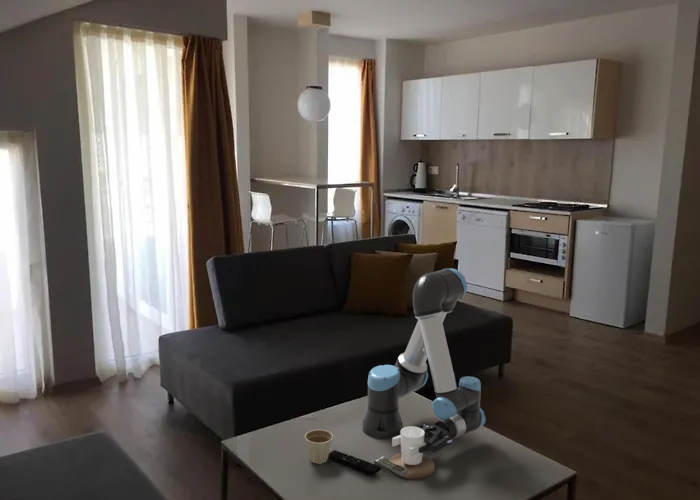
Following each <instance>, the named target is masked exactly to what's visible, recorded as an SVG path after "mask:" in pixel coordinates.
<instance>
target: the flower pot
mask: <svg viewBox="0 0 700 500" xmlns="http://www.w3.org/2000/svg"><path fill="white" fill-rule="evenodd" d="M333 438H334V435H333V433H332V432H331V431H328V430H325V429H314V430H313V429H312V430H310V431H308V432H306V433H305V435H304V439H305V441H306V443H307V450H308V451H307V453H308V459H309V462H310V461H311V462H310V463H312V462H313V463H312V464H314V463H316V464H318V465H323V464H325V463H327V462H328V460H329V455H330V447H331V444H332V441H333ZM327 459H328V460H327ZM326 461H327V462H326ZM324 462H325V463H324ZM322 463H323V464H322Z"/></svg>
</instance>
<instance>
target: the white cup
mask: <svg viewBox="0 0 700 500" xmlns="http://www.w3.org/2000/svg"><path fill="white" fill-rule="evenodd" d="M414 426H415V425H412V426H403V428H402V429H401V431H400V432H401V444H400V451H401V452H400V453H401V459H402V461H403V462H404V463H406V464H409V465H417V464H419V463H421V462H422V455H424V452H423V453H419V454H417V455H415V456H412V457H410V456H409V452H410V448H411V447H414V446H416V445H419V444H421V443H424V442H425V438H424V434H425V432H424V430H423V429H421V428H419V427H414Z"/></svg>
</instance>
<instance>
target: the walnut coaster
mask: <svg viewBox="0 0 700 500" xmlns="http://www.w3.org/2000/svg"><path fill="white" fill-rule="evenodd" d="M389 461H390V462H392V463H394V464H396V465H399V466H401V467H403V468H405V469H407V470H408V473H407V474H405V475H404V476H405V478H406V479H405V478H404V479H405V480H424V479H426V478H428V477H430V476H431V475H432V474H433V473H434V471H435V463H434V461H433V460H432V459H431V458H430V457H428V456H427V455H424V454H422V462H421V463H419V464H417V465H409V464H406V463H404V462H403V461H402V459H401V452H399V453H396V454H394V455H393V456H391V457H390V458H389V460H388V462H389ZM402 475H403V474H402Z"/></svg>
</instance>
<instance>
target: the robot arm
mask: <svg viewBox="0 0 700 500" xmlns="http://www.w3.org/2000/svg"><path fill="white" fill-rule="evenodd" d="M412 290H413V291H412V307H413V313H414V317H415V318H416V319H417V322H416V325H415V327H414V330H413V331H412V334H411V336H410V339H409V341H408V344H407V346H406V349H405V351H404V352H403V353H400V354H399V356H398V357H397V360H396V362H395V364H394V365H391V364H384V365H382V364H380V365H377V366H374V367H372V369H371V370H370V371H369V373H368V378H367V409H366V412H365V415H364V418H363V420H362V428H361V429H362V431H363V432H364V434H365V435H367V436H370V437H373V438H376V439H391V446H392V447H393V448H394V447H396V446H399V445H401V432H400V431H401V429H402V428H404V424H403V420H402V418H401V413H400V409H399V408H400V404H399V403H400V399H401V398H403V397H404V396H407V395H409V394H411V393H414V392H417V391H419V390H420V389H421V388H422V387H424V386H425V384H426V383H427V380H428V378H429V372H428V366H429V370H430V374H431V378H432V385H433V387H434V392H435V397H436V398H435V399H434V400H433V401H432V405H431V406H432V407H431V408H432V411H433V414H434V415H435V416H436V418H438V420H437V421H436V422H435V423H434V424H432V425H427V423H426V422H421V423H420V424H416V425H413V426H414V427H419V428H421V429H423V430H424V432H425V434H424V439H429V440H428V441H426V442H425V441H424V443H421V444H419V445H416V446H414V447H411V448H410V452H409V456H410V457H412V456H415V455H417V454H419V453H423V454H424V453H425V452H431V454H435V453H437V452H439V451H441V450H442V449H444V448H446V447H447V446H452V444H453V440H454V439H456V438H459V437H460V436H463V435H465V434H468V433H471V432H473V431H476V430H478V429H480V428H481V427H483V426H484V425H485V423H486V416H485V412H484V410H483V409H482V408H481V395H482V393H481V392H482V389H481V388H482V387H481V386H482V383H481V381H480V379H479V378H477V377H475V376H462V377H461V378H459V382H458V387H457V381H456V377H455V372H454V370H453V369H454V368H453V364H452V359H451V355H450V350H449V347H448V342H447V337H446V334H445V333H446V332H445V329H444V324H443V323H444V320H445V318H446V315H447V314H449V313H451V312H453V311H454V309H455V306H456V305H457V302H458V300H461V299H462V298H464V297H465V296H466V294H467V290H468V283H467V281H466V278H465V276H464V275H463V273H462V272H461V271H459V270H457V269H456V268H443V269H441V270H437V271H436V270H435V271H433V272H428V273H425V274H423V275H421V276H420V277H418V279H417V281H416V282H415V285H414V287H413V289H412ZM427 360H428V365H427V362H426V361H427Z"/></svg>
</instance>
